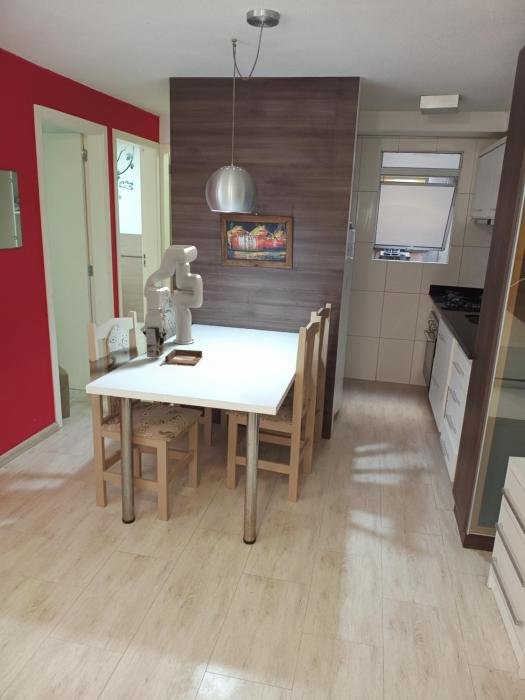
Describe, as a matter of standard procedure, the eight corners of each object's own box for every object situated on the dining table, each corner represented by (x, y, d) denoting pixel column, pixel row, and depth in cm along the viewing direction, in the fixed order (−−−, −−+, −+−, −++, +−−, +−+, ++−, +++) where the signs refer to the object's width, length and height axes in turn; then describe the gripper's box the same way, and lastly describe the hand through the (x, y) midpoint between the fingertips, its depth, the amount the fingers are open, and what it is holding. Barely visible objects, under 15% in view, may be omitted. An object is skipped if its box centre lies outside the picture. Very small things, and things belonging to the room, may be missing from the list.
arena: (174, 356, 294) (174, 349, 293) (202, 357, 292) (202, 350, 291) (165, 363, 279) (165, 356, 278) (194, 365, 277) (194, 358, 276)
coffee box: (158, 358, 282) (157, 329, 278) (146, 357, 283) (145, 328, 279) (164, 353, 291) (163, 325, 286) (153, 352, 292) (152, 324, 287)
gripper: (171, 310, 283) (172, 343, 288) (140, 309, 285) (142, 341, 290) (167, 313, 275) (168, 346, 280) (135, 312, 278) (137, 344, 283)
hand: (155, 343), depth 285 cm, fingers closed on coffee box, 6 cm apart
